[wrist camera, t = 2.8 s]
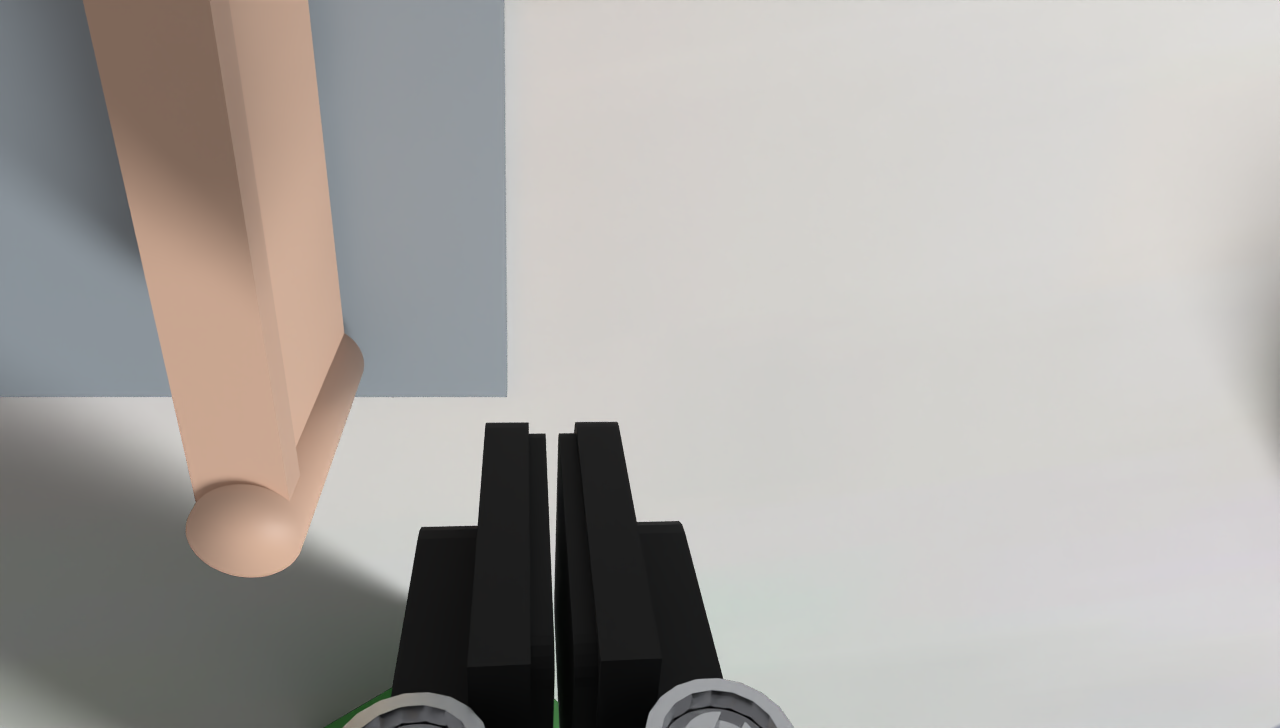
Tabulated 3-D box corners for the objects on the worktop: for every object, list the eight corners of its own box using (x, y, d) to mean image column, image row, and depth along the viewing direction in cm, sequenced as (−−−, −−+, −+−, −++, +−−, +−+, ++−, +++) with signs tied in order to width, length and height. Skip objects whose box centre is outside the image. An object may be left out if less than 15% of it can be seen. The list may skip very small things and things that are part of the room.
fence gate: (180, -294, 15) (-40, -413, 9) (300, -282, 15) (160, -390, 9) (285, 396, 22) (196, 579, 16) (367, 396, 22) (308, 576, 16)
